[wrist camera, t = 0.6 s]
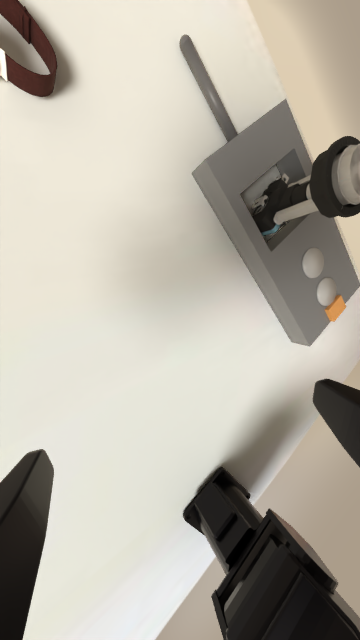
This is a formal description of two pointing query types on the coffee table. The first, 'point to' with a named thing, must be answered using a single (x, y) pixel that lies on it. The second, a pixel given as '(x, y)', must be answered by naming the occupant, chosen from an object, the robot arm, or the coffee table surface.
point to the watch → (28, 81)
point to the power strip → (295, 237)
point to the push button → (315, 189)
